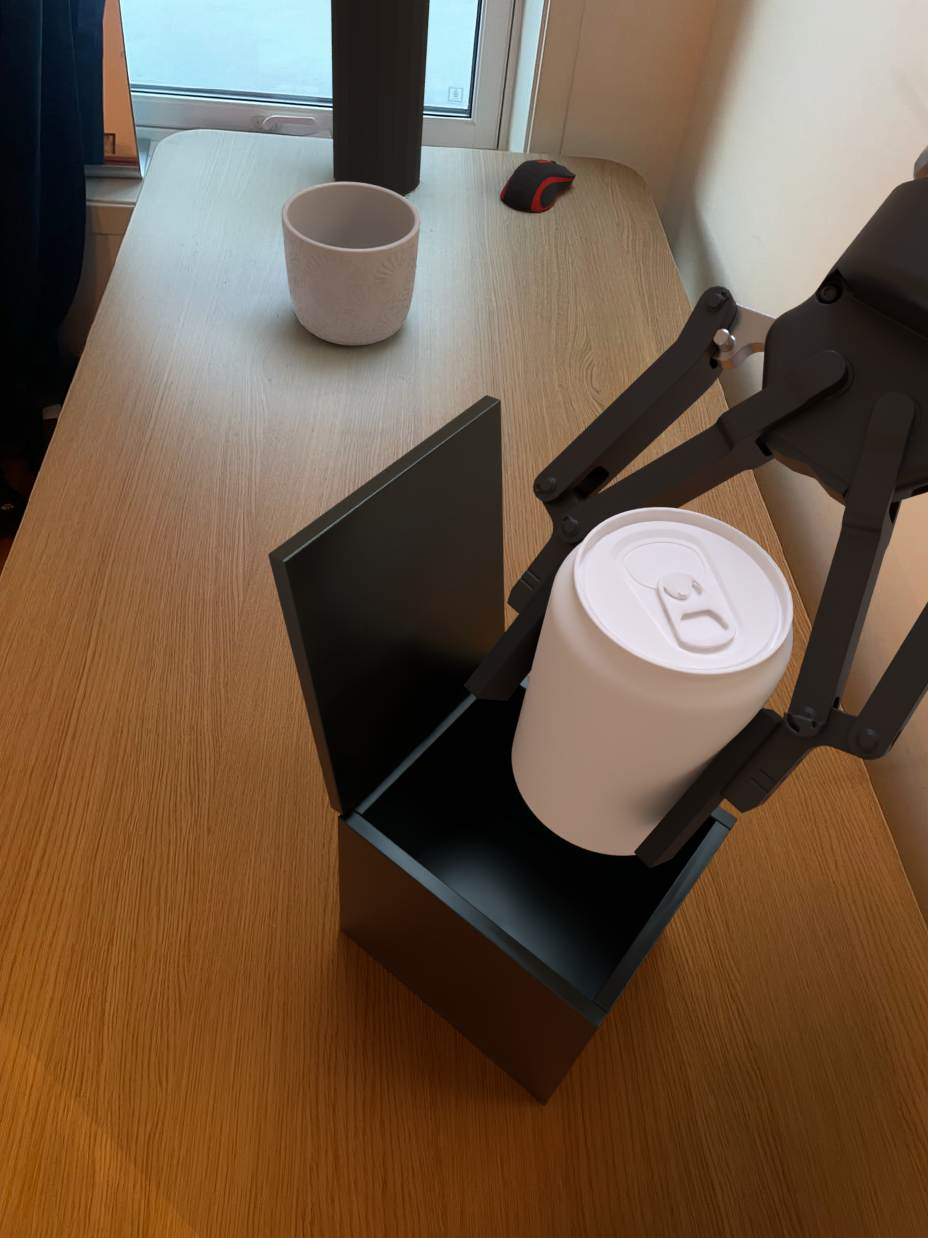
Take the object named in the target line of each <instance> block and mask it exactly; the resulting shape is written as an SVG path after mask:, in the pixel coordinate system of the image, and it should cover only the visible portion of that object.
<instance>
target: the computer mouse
mask: <svg viewBox="0 0 928 1238" xmlns="http://www.w3.org/2000/svg"><path fill="white" fill-rule="evenodd" d="M576 177H577V175H576V173H573V172H572V171H570V169H568V168H567V167H566V166H565V165H562V164H558V163H557V162H556V161H555V160H552V159H551V160H547V159H529V160H525V161H522V163H520V164H519V165H518V166H517V167H516V168H515V170H514V171H513V173H512V174H511V176H510V177H509V179H508V180H507V181H506V183H505V185H504V186H503V187H502V190H501V191H500V198H501V200H502V201H503V202H504V203H505V204H506V205H507V206H509V207H512V208H514V209H516V210H519V211H523V212H529V213H541V212H545V211H548V210H549V209H550V208H551V207H553V205H555V203H556V201H557V199H558V197H559V196H560V195H562V194H563V193H565V192H566V191H567V190H568V189H569V188H570V187H571V185H572V184H573V183H574V180H575V178H576Z"/></svg>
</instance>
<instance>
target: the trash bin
mask: <svg viewBox="0 0 928 1238" xmlns="http://www.w3.org/2000/svg"><path fill="white" fill-rule="evenodd" d="M529 677H530V676H528V675H527V676H526V678H525V679H524V680H523V681H522V683H521V684H520V685H519V686H518V688H517V689H516V690H515V691H514V693H513V694H512V695H511V696H510V698H509V699H508V700H507V701H501V700H489V699H478V698H476V697H475V696H474V695H473V694H472V693H471V692H470V691H468V692H467V693H466V694H465V695H464V696H463V697H462V698H461V699H460V700H459V701H458V702H457V703H456V704H455V705H454V706H453V707H452V708H451V709H450V710H449V711H448V712H447V713H446V714H445V715H444V716H443V717H442V718H441V719H440V720H439V721H438V722H437V723H436V724H435V725H434V726H433V727H432V728H431V729H430V730H429V731H428V732H427V733H426V734H425V735H424V736H423V737H422V738H420V739H419V740H418V741H417V742H416V743H415V744H414V745H413V746H412V747H411V748H410V749H409V750H408V751H407V752H406V753H405V754H404V755H403V756H402V757H401V758H400V759H399V760H398V761H397V762H396V763H395V764H394V765H393V766H392V767H391V768H390V769H389V770H388V771H387V772H386V773H385V774H384V775H383V776H382V777H381V778H380V779H379V780H378V781H377V782H376V783H375V784H374V785H373V786H372V787H371V788H370V789H369V790H368V791H367V792H366V793H365V794H364V795H363V796H362V797H361V798H360V799H359V800H358V801H357V802H356V803H355V804H354V805H353V806H352V807H351V808H350V809H349V810H348V811H347V812H346V813H345V814H344V815H341V814H339V815H338V816H337V854H338V855H337V860H338V863H337V864H338V906H339V909H338V911H339V930H340V931H341V932H342V933H343V934H344V935H346V936H347V937H348V938H349V939H350V940H352V942H354V943H355V944H356V945H357V946H358V947H360V948H361V949H362V950H363V951H364V952H365V953H367V954H368V955H369V956H370V957H371V958H372V959H373V960H375V961H376V962H377V963H378V964H379V965H381V966H382V967H383V968H384V969H385V970H386V971H387V972H388V973H390V974H391V975H392V976H393V977H395V979H396V980H398V981H399V982H400V983H401V984H403V985H404V986H405V987H406V988H407V989H408V990H409V991H411V992H412V993H413V994H415V996H416V997H418V998H419V999H420V1000H421V1001H422V1003H423V1002H424V1004H425V1005H427V1006H428V1007H429V1008H430V1009H431V1010H433V1011H434V1012H435V1013H436V1014H437V1015H438V1016H440V1017H441V1018H442V1019H443V1020H444V1021H445V1022H447V1023H448V1024H449V1025H450V1026H451V1027H452V1028H454V1030H455V1031H457V1032H458V1033H459V1034H461V1036H463V1037H464V1038H465V1039H466V1040H467V1041H469V1042H470V1043H471V1044H472V1045H473V1046H474V1047H476V1048H477V1049H478V1051H480V1052H481V1053H483V1054H484V1055H485V1056H486V1057H487V1058H488V1059H489V1060H491V1061H492V1062H493V1063H494V1064H495V1066H497V1067H499V1068H500V1069H501V1070H502V1071H504V1072H505V1074H507V1075H508V1076H509V1077H510V1078H511V1079H512V1080H514V1081H515V1082H516V1083H517V1084H518V1085H519V1086H521V1087H522V1088H523V1089H525V1091H526V1092H528V1094H530V1095H531V1096H532V1097H533V1098H534V1099H536V1100H537V1101H538V1102H539V1103H541V1105H543V1106H544V1107H545V1106H546V1105H547V1104H548V1102H549V1101H550V1099H551V1098H552V1096H553V1095H554V1094H555V1092H556V1090H557V1089H558V1088H559V1086H560V1085H561V1084H562V1082H563V1080H564V1079H565V1078H566V1077H567V1075H568V1073H569V1072H570V1070H571V1069H572V1068H573V1066H574V1065H575V1063H576V1062H577V1060H578V1059H579V1057H580V1056H581V1055H582V1053H583V1052H584V1051H585V1049H586V1048H587V1046H588V1045H589V1043H590V1042H591V1040H592V1039H593V1037H594V1036H595V1035H596V1033H597V1031H598V1030H599V1029H600V1027H601V1026H602V1024H603V1023H604V1022H605V1020H606V1019H607V1016H608V1015H609V1014H610V1012H612V1009H613V1007H615V1005H616V1003H617V1002H618V1000H619V999H620V997H621V996H622V995H623V993H624V991H625V989H626V988H627V987H628V985H629V984H630V982H631V981H632V979H633V978H634V976H635V975H636V973H637V972H638V970H639V969H640V968H641V965H642V964H643V963H644V961H645V959H647V957H648V955H649V954H650V952H651V951H652V949H653V948H654V946H655V945H656V943H657V942H658V940H659V939H660V937H661V936H662V935H663V933H664V931H665V930H666V928H667V927H668V925H669V923H670V922H671V921H672V919H673V918H674V917H675V914H676V913H677V911H678V910H679V909H680V907H681V906H682V904H683V903H684V901H685V900H686V898H687V896H688V895H689V894H690V892H691V891H692V889H693V887H694V886H695V885H696V883H697V881H698V880H699V879H700V877H701V875H702V874H703V873H704V871H705V870H706V868H707V866H708V865H709V864H710V862H711V861H712V859H713V858H714V856H715V855H716V853H717V852H718V851H719V848H720V847H721V845H722V844H723V843H724V841H725V840H726V839H727V837H728V835H729V834H730V832H731V831H732V829H733V828H734V827H735V825H736V823H737V821H738V817H736V816H734V815H733V814H731V813H730V812H728V811H727V810H725V809H724V808H722V807H721V806H720V805H719V806H718V807H717V808H716V809H715V810H714V811H713V812H712V814H711V815H710V816H709V817H708V818H707V819H706V820H705V822H704V823H703V824H702V825H701V826H700V827H699V828H698V829H697V831H696V832H695V833H694V834H693V835H692V836H691V837H690V839H689V840H688V841H687V842H686V843H685V844H684V845H683V846H682V848H681V849H680V850H679V851H678V852H677V853H676V854H675V856H674V857H673V858H672V859H671V860H668V861H666V862H664V863H661V864H659V865H656V866H654V867H652V868H649V867H648V866H647V865H646V864H645V863H644V862H643V861H642V860H641V859H640V858H639V857H638V856H637V855H609V854H603V853H598V852H594V851H590V850H587V849H584V848H582V847H579V846H577V845H575V844H572V843H570V842H569V841H567V840H565V839H563V838H562V837H560V836H558V835H557V834H556V833H554V832H553V831H552V830H550V829H549V828H548V827H547V826H545V825H544V824H543V823H542V822H541V821H540V820H539V819H538V818H537V817H536V815H535V814H534V813H533V812H532V811H531V809H530V808H529V806H528V805H527V803H526V802H525V800H524V799H523V797H522V795H521V793H520V791H519V788H518V786H517V783H516V780H515V777H514V773H513V767H512V746H513V741H514V736H515V732H516V728H517V724H518V720H519V716H520V712H521V709H522V705H523V701H524V697H525V693H526V689H527V685H528V681H529Z"/></svg>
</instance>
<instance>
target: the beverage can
mask: <svg viewBox="0 0 928 1238" xmlns="http://www.w3.org/2000/svg"><path fill="white" fill-rule="evenodd" d="M793 618H794V602H793V596H792V593H791V589H790V586H789V584H788V581H787V579H786V577H785V575H784V574H783V572H782V569H781V568H780V567H779V565H778V564H777V563H776V561H775V560H774V558H772V557H771V555H770V554H769V553H768V552H767V551H766V550H765V549H764V548H763V547H762V546H761V545H760V544H758V543H757V542H756V541H755V540H754V539H752V538H751V537H750V536H748V535H746V534H745V533H744V532H742V531H741V530H739V529H737V528H735V527H734V526H732V525H731V524H728V523H726V522H724V521H722V520H719V519H717V518H714V517H712V516H709V515H707V514H704V513H700V512H696V511H694V510H693V511H692V510H688V509H683V508H677V509H676V508H664V507H652V508H641V509H635V510H630V511H627V512H623V513H620V514H617V515H615V516H613V517H611V518H609V519H607V520H605V521H603V522H602V523H600V524H599V525H598V526H596V527H595V528H594V529H593V530H592V531H591V532H590V533H589V534H588V535H587V536H586V537H585V539H584V540H583V542H581V543H580V544H579V545H578V546H577V547H576V548H574V549H573V550H572V552H571V553H570V554H569V555H568V556H567V557H566V559H565V560H564V562H563V563H562V565H561V566H560V568H559V570H558V572H557V574H556V577H555V580H554V583H553V586H552V590H551V594H550V598H549V602H548V606H547V610H546V614H545V618H544V622H543V626H542V630H541V633H540V637H539V641H538V645H537V649H536V653H535V657H534V661H533V665H532V669H531V671H530V672H529V673H530V674H529V676H528V677H529V681H528V685H527V689H526V693H525V697H524V701H523V705H522V709H521V712H520V716H519V720H518V724H517V728H516V732H515V736H514V741H513V746H512V767H513V773H514V777H515V780H516V783H517V786H518V788H519V791H520V793H521V795H522V797H523V799H524V800H525V802H526V803H527V805H528V806H529V808H530V809H531V811H532V812H533V813H534V814H535V815H536V817H537V818H538V819H539V820H540V821H541V822H542V823H543V824H544V825H545V826H547V827H548V828H549V829H550V830H552V831H553V832H554V833H556V834H557V835H558V836H560V837H562V838H563V839H565V840H567V841H569V842H570V843H572V844H575V845H577V846H579V847H582V848H584V849H587V850H590V851H594V852H598V853H603V854H609V855H636V854H635V853H634V851H635V850H636V849H637V848H638V846H639V845H640V844H641V843H642V842H643V841H644V840H645V838H646V837H647V836H648V835H649V834H650V833H651V831H652V830H653V829H654V828H655V827H656V826H657V825H658V823H659V822H660V821H661V820H662V819H663V818H664V816H665V815H666V814H667V813H668V812H669V811H670V810H671V808H672V807H673V806H674V805H675V804H676V803H677V801H678V800H679V799H680V798H681V797H682V796H683V795H684V793H685V792H686V791H687V790H688V789H689V788H690V786H691V785H692V784H693V783H694V782H695V781H696V780H697V778H698V777H699V776H700V775H701V774H702V773H703V771H704V770H705V769H706V768H707V767H708V766H709V765H710V763H711V762H712V761H713V760H714V759H715V758H716V756H717V755H718V754H719V753H720V752H721V751H722V750H723V748H724V747H725V746H726V745H727V744H728V743H729V741H731V740H732V739H733V738H734V737H735V736H736V735H737V734H738V733H739V732H740V731H741V730H742V729H743V728H744V727H745V726H746V725H747V724H748V723H749V722H750V721H751V720H752V719H753V717H754V716H755V715H756V714H757V713H758V712H759V710H760V709H762V708H765V706H766V704H767V703H768V701H769V699H770V698H771V697H772V695H773V693H774V691H775V690H776V688H777V686H778V685H779V683H780V681H781V680H782V678H783V676H784V674H785V672H786V670H787V668H788V666H789V664H790V660H791V656H792V651H793V646H794V628H793Z"/></svg>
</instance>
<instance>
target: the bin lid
mask: <svg viewBox="0 0 928 1238" xmlns="http://www.w3.org/2000/svg"><path fill="white" fill-rule="evenodd" d="M502 443H503V441H502V400H501V399H499V398H496V397H494V396H491V395H489V394H486V395H484V396H483V397H481V398H480V399H479V400H477V401H475V403H473V404H471V405H470V406H469V407H468V408H466V409H465V410H463V411H462V412H461V413H460V414H458V415H457V416H455V417H454V418H453V419H451V420H450V421H448V422H446V423H445V424H444V425H443V426H441V427H440V428H439V429H437V430H436V431H435V432H432V434H430V435H429V436H428V437H426V438H425V439H423V440H422V441H421V442H420V443H418V444H417V445H415V446H414V447H413V448H411V449H409V451H407V452H406V453H405V454H403V455H401V456H400V457H399V458H398V459H396V460H394V461H393V462H392V463H391V464H389V465H388V466H386V467H385V468H384V469H382V470H381V471H379V472H378V473H377V474H376V475H374V476H373V477H371V478H370V479H369V480H367V481H366V482H365V483H363V484H362V485H360V486H359V487H358V488H357V489H355V490H354V491H352V492H351V493H350V494H348V495H347V496H345V497H344V498H343V499H341V500H340V501H339V502H337V503H336V504H335V505H333V506H331V508H329V509H328V510H326V511H325V512H324V513H323V514H321V515H320V516H318V517H317V518H316V519H314V520H312V521H311V522H310V523H309V524H308V525H306V526H305V527H303V528H302V529H300V530H299V531H298V532H296V533H295V534H293V535H292V536H291V537H290V538H288V539H287V540H285V541H283V542H282V543H281V544H280V545H278V546H277V547H276V548H275V549H273V550H272V551H270V552H269V553H268V555H267V557H268V560H269V564H270V568H271V572H272V576H273V581H274V584H275V588H276V592H277V597H278V600H279V604H280V608H281V613H282V617H283V620H284V624H285V628H286V632H287V633H286V634H287V636H288V640H289V644H290V648H291V653H292V657H293V660H294V664H295V669H296V672H297V673H296V674H297V677H298V681H299V685H300V689H301V692H302V696H303V701H304V705H305V708H306V712H307V713H306V714H307V716H308V722H309V724H310V729H311V732H312V737H313V741H314V745H315V749H316V753H317V757H318V761H319V765H320V769H321V773H322V777H323V781H324V785H325V789H326V793H327V797H328V801H329V805H330V808H331V809H332V810H334V811H335V812H336V813H338V814H339V815H340V814H341V815H344V814H345V813H346V812H347V811H348V810H349V809H350V808H351V807H352V806H353V805H354V804H355V803H356V802H357V801H358V800H359V799H360V798H361V797H362V796H363V795H364V794H365V793H366V792H367V791H368V790H369V789H370V788H371V787H372V786H373V785H374V784H375V783H376V782H377V781H378V780H379V779H380V778H381V777H382V776H383V775H384V774H385V773H386V772H387V771H388V770H389V769H390V768H391V767H392V766H393V765H394V764H395V763H396V762H397V761H398V760H399V759H400V758H401V757H402V756H403V755H404V754H405V753H406V752H407V751H408V750H409V749H410V748H411V747H412V746H413V745H414V744H415V743H416V742H417V741H418V740H419V739H420V738H422V737H423V736H424V735H425V734H426V733H427V732H428V731H429V730H430V729H431V728H432V727H433V726H434V725H435V724H436V723H437V722H438V721H439V720H440V719H441V718H442V717H443V716H444V715H445V714H446V713H447V712H448V711H449V710H450V709H451V708H452V707H453V706H454V705H455V704H456V703H457V702H458V701H459V700H460V699H461V698H462V697H463V696H464V695H465V694H466V693H467V692H468V691H469V690H468V689H467V688H466V687H465V686H464V684H465V683H466V682H467V680H468V679H469V678H470V677H471V675H472V674H473V673H474V671H475V670H476V669H477V668H478V666H479V665H480V664H481V662H482V661H483V660H484V659H485V657H486V656H487V655H488V653H489V652H490V651H491V650H492V648H493V647H494V646H495V644H496V643H497V642H498V641H499V639H500V638H501V637H502V635H503V634H504V633H505V632H506V614H505V611H506V610H505V608H506V607H505V562H504V561H505V559H504V558H505V557H504V556H505V555H504V553H505V552H504V550H505V549H504V502H503V501H504V498H503V497H504V495H503V494H504V493H503V454H502V453H503V444H502Z"/></svg>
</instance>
